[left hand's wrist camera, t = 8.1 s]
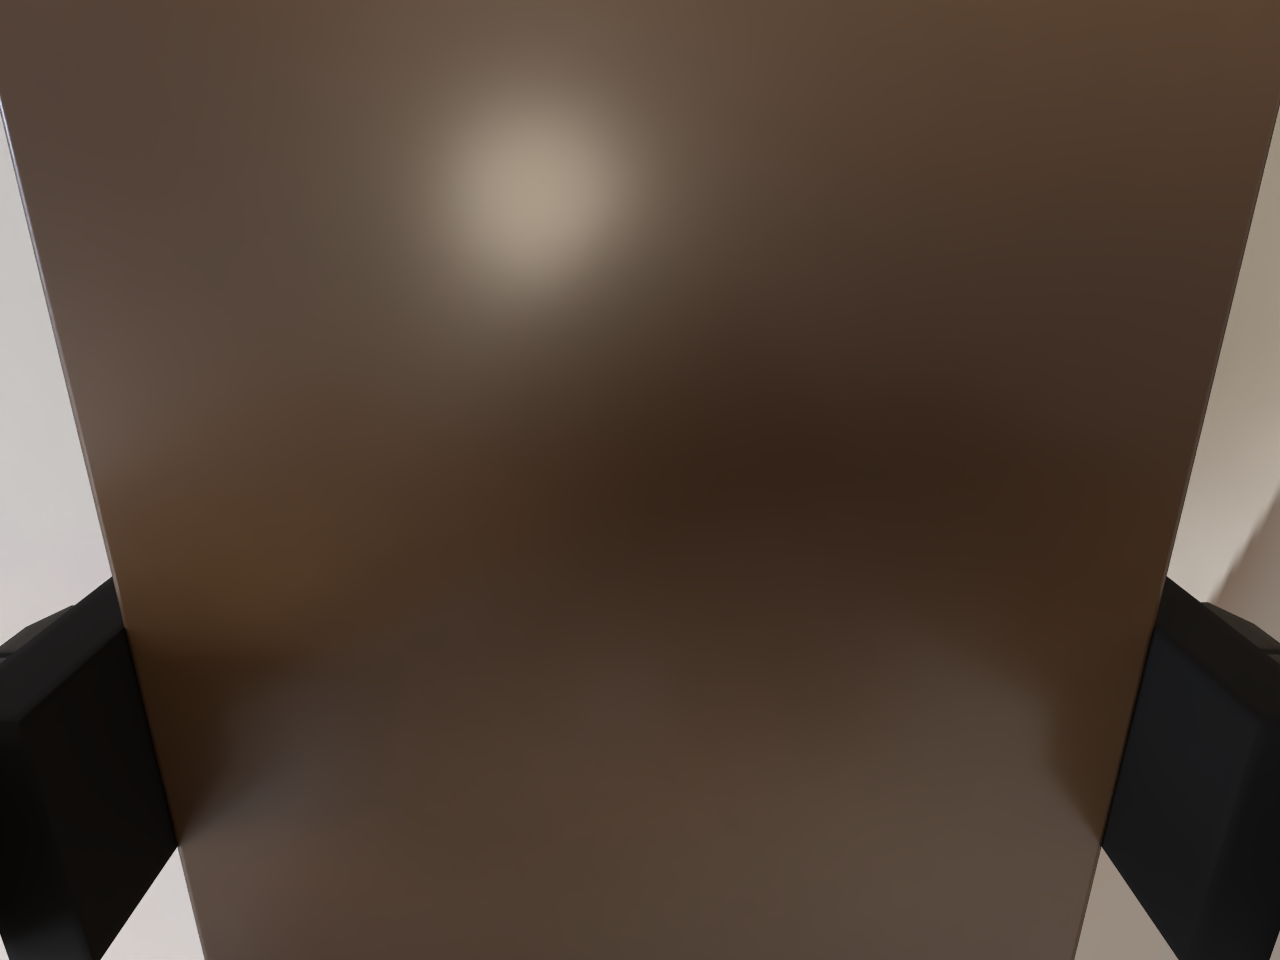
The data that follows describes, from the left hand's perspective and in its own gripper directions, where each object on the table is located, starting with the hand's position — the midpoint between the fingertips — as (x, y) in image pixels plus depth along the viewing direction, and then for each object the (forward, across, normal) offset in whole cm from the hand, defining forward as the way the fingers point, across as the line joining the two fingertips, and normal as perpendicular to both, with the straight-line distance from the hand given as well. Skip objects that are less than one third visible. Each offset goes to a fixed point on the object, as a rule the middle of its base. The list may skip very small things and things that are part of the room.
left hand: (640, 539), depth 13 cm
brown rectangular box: (+5, 0, -5) cm, 7 cm away
